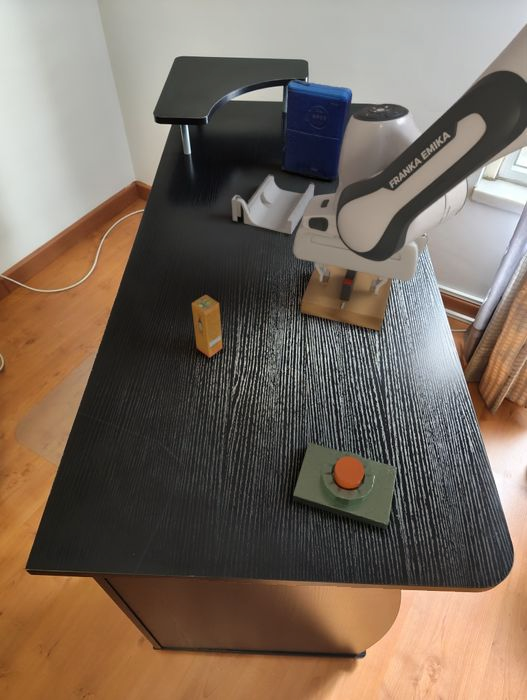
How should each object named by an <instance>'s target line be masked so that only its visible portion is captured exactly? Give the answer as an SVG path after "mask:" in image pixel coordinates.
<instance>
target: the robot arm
mask: <svg viewBox="0 0 527 700" xmlns="http://www.w3.org/2000/svg"><path fill="white" fill-rule="evenodd" d="M526 147H527V23H526V24H524V25H523V27H522V28H521V29H520V30H519V32H518V33H517V34H516V35H515V36H514V38H512V39H511V41H510V42H509V43H507V45H506V47H505V48H504V49H503V50H502V51H501V52H500V53H499V54H498V55H497V56H496V58H495V59H494V60H493V61H492V62H490V64H489V65H488V66H487V68H485V69H484V70H483V72H482V73H481V74H480V75H479V76H478V77H477V78H476V79H475V80H474V82H472V83H471V85H469V87H468V88H467V89H466V90H465V92H464V93H463V94H462V95H461V96H460V97H459V98H458V99H457V100H456V101H455V102H454V103H453V104H452V105H451V106H450V107H449V108H448V109H447V110H446V111H445V112H443V114H442V115H441V116H440V117H439V118H437V119H436V120H435V121H434V122H433V123H432V124H431V125H430V126H429V127H428V128H427V129H426V130H424V131H423V132H421V130H420V129H419V127H418V126H417V124H416V123H415V119H414V117H413V114H412V111H410V109H408V108H407V107H405V106H403V105H401V104H396V103H379V104H372V105H369V106H366V107H364V108H361V109H359V110H357V111H356V112H355V113H353V114H352V115H351V117H349V121H348V124H347V127H346V130H345V133H344V137H343V142H342V146H341V152H340V159H339V167H338V175H339V177H338V186H337V188H336V190H335V192H334V193H333V192H332V193H326V194H325V193H324V194H318V195H317V194H316V195H314V196H313V197H312V199H311V200H310V201H309V203H308V205H307V206H306V208H305V211H304V213H303V216H302V217H301V222H300V224H299V226H298V228H297V230H296V233H295V235H294V240H293V245H292V253H293V255H294V256H295V258H296V259H298V260H302V261H307V262H312V263H314V268H315V267H316V269H317V271H318V272H319V274H320V282H325V283H328V280H329V278H330V272H331V270H328V269H326V267H325V265H330V266H335V267H339V268H344V269H349V270H354V271H358V272H363V273H368V274H372V275H377V276H380V277H379V278H378V279H377V280H375V279H372V282H371V285H370V290H369V292H371V293H375V294H377V293H378V290H379V287H381V286H382V285H384V284H385V283H386V282H387V281H388V278H391V279H392V280H396V281H401V282H406V283H407V282H410V281H411V280H414V278H415V276H416V271H417V267H418V262H419V256H420V254H421V253H422V252H424V251H425V249H426V248H427V247H426V246H427V243H428V239H429V238H428V236H427V233H429V232H430V231H432V230H434V229H435V228H437V227H439V226H441V225H442V224H443V223H445V222H447V221H448V220H450V219H452V218H453V217H454V216H456V215H458V213H459V212H461V210H462V209H463V207H464V205H465V203H466V201H467V197H468V192H469V182H468V179H469V178H470V177H471V176H472V175H474V174H476V173H477V172H479V171H480V170H482V169H483V168H485V167H487V166H489V165H490V164H492V163H494V162H496V161H499V160H500V159H502V158H504V157H506V156H508V155H510V154H512V153H514V152H516V151H519V150H521V149H523V148H526ZM324 264H325V265H324Z"/></svg>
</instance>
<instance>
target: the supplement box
mask: <svg viewBox="0 0 527 700" xmlns="http://www.w3.org/2000/svg"><path fill="white" fill-rule="evenodd" d="M220 309H221V308H220V302H219V301H216V300H215V299H213V298H212V297H211V296H209V295H207V294H204V295H203V296H201V297H199V298H198V299H196V300H194V301H192V302H191V311H192V318H193V326H194V327H193V329H194V335H195V346H196V349H197V350H198V351H200V352H201V353H203V354H204V355H206V357H208V358H211V357H213V356H214V355H215V354H217V353H218V352H219V351H220V350H222V349H223V348H224V347H223V336H222V323H221V312H220Z"/></svg>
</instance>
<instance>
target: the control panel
mask: <svg viewBox="0 0 527 700" xmlns="http://www.w3.org/2000/svg"><path fill="white" fill-rule="evenodd" d="M324 265H325V264H324ZM325 267H326V269H328V270H331V272H330V278H329V280H328V283H325V282H320V274H319V272H318V271H317V269H316V267H315V266H314V268H313V271H312V273H311V275H310V276H311V277H310V278H309V281H308V283H307V286H306V288H305V291H304V294H303V296H302V298H301V304H300V313H301V314H304V315H309V316H314V317H318V318H323V319H327V320H331V321H334V322H335V321H336V322H340V323H345V324H349V325H353V326H358V327H362V328H366V329H371V330H375V331H381V328H382V324H383V321H384V317H385V314H386V308H387V304H388V300H389V295H390V291H391V287H392V282H393V279H391V278H388V281H387V282H386V283H385V284H384V285H382V286H381V287H379V290H378V293H377V294H375V293H371V292H369V290H370V285H371V282H372V279H375V280H377V279H378V278H379V277H380V276H377V275H372V274H368V273H363V272H357V277H356V280H355V284H354V287H353V290H352V293H351V296H350V299H349V301H346V300H341V299H340V295H341V289H342V284H343V281H344V278H345V275H346V272H347V269H344V268H339V267H335V266H330V265H325Z"/></svg>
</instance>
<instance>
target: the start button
mask: <svg viewBox="0 0 527 700" xmlns="http://www.w3.org/2000/svg"><path fill="white" fill-rule="evenodd" d="M333 475H334V479H335V481H336V483H337V484H338V485H339V486H340V487H342V488H345V489H354V488H356V487H358V486H359V485H360V483H361V481H362V478H363V475H364V468H363V465H362V464H361V463H360V461H358V460H357V459H355V458H353V457H343V458H341V459H339V460H338V461H337V463H336V465H335V469H334V474H333Z"/></svg>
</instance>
